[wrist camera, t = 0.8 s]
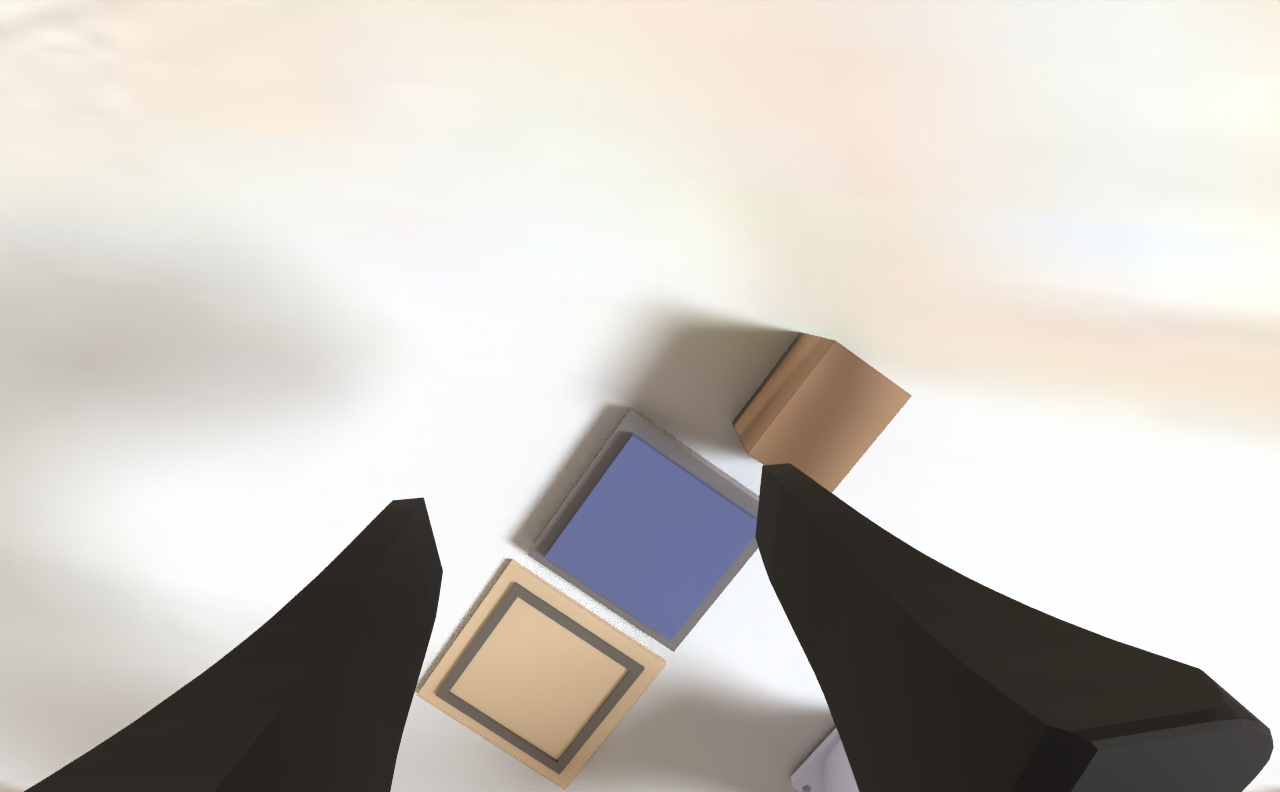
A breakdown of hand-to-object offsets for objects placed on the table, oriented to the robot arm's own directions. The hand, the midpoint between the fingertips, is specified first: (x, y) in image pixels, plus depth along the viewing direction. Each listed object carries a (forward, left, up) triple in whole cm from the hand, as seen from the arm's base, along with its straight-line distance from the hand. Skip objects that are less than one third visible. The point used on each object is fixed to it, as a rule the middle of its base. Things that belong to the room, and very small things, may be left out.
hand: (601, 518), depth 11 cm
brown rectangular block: (-7, -4, -18) cm, 20 cm away
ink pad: (-5, +6, -18) cm, 19 cm away
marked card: (-5, +18, -18) cm, 26 cm away
